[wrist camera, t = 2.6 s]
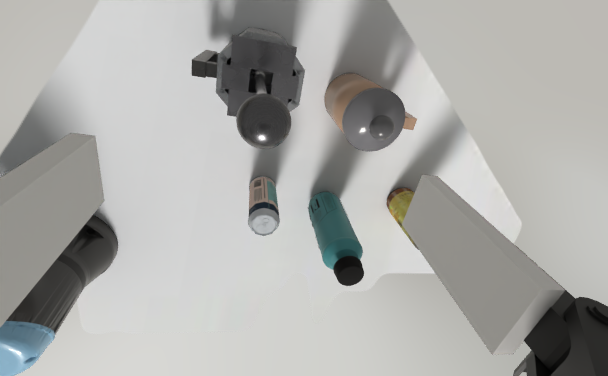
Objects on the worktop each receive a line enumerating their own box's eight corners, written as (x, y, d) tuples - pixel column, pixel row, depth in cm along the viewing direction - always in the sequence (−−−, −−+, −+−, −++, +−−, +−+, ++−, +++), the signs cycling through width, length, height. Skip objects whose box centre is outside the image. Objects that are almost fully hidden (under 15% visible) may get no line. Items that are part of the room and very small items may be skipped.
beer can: (245, 193, 56) (243, 233, 46) (254, 171, 54) (254, 208, 44) (269, 201, 58) (272, 241, 47) (279, 180, 56) (285, 217, 46)
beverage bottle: (312, 183, 57) (336, 256, 40) (344, 190, 59) (381, 262, 42) (301, 212, 60) (320, 291, 43) (332, 217, 62) (363, 296, 45)
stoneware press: (319, 119, 51) (344, 159, 37) (330, 68, 48) (362, 90, 33) (378, 127, 54) (424, 169, 39) (393, 79, 50) (450, 105, 35)
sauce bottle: (379, 205, 62) (426, 278, 45) (398, 181, 60) (456, 247, 42) (402, 216, 64) (456, 290, 47) (422, 193, 62) (486, 261, 45)
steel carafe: (207, 86, 46) (187, 115, 33) (209, 18, 42) (188, 19, 29) (284, 98, 49) (295, 129, 35) (294, 35, 45) (311, 43, 31)
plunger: (230, 99, 37) (208, 171, 20) (234, 41, 34) (213, 66, 17) (283, 107, 38) (305, 181, 21) (291, 51, 35) (325, 85, 18)
